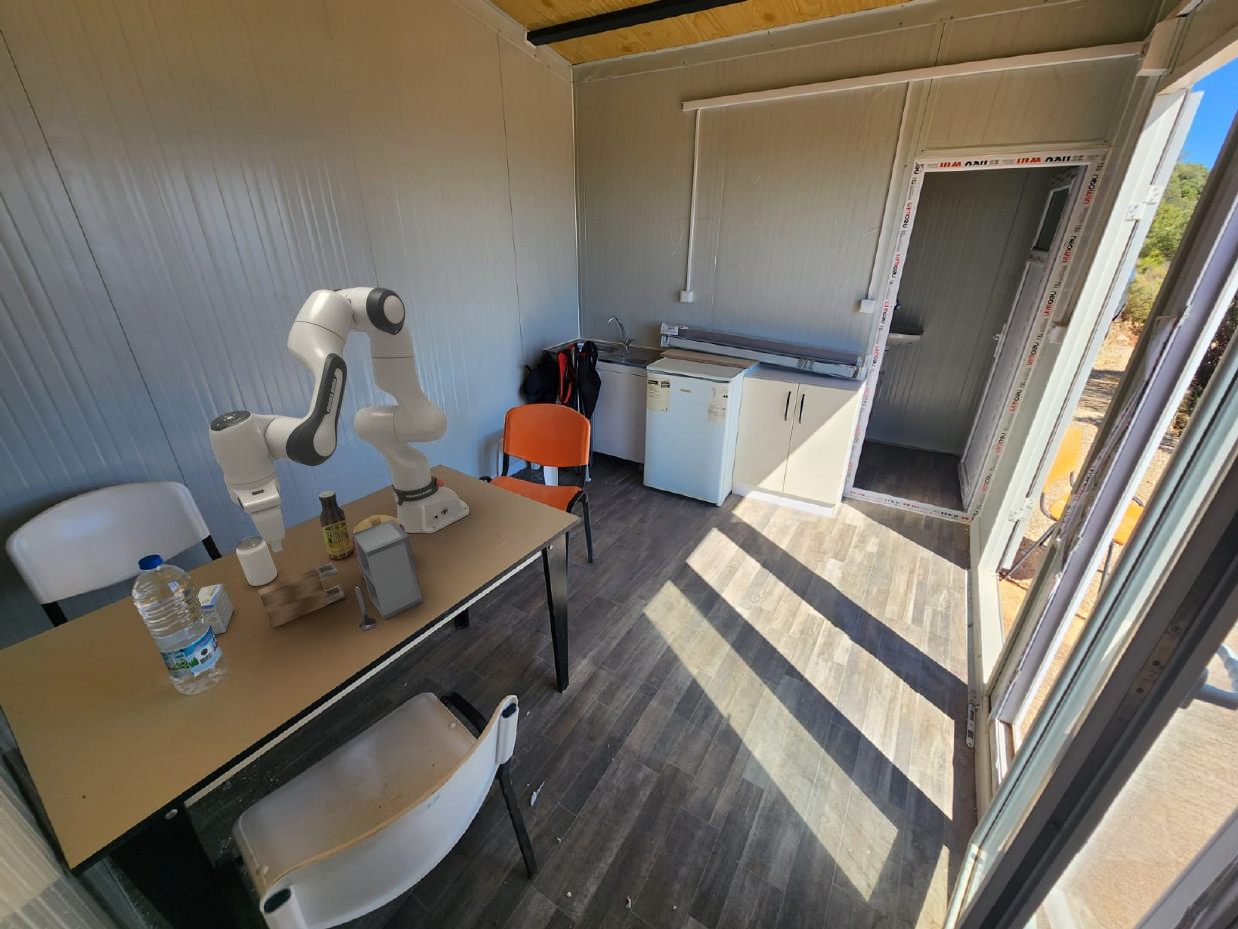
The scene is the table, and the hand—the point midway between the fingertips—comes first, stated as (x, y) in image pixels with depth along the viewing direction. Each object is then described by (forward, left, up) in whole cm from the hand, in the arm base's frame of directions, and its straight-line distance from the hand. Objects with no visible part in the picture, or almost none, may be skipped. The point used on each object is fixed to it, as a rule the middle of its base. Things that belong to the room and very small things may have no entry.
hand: (273, 540), depth 111 cm
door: (-2, 0, -22) cm, 22 cm away
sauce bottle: (-15, -19, -22) cm, 33 cm away
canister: (-22, -3, -22) cm, 31 cm away
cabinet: (-19, +11, -22) cm, 31 cm away
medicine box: (+15, -9, -22) cm, 28 cm away
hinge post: (-11, +15, -22) cm, 29 cm away
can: (+4, -21, -22) cm, 30 cm away
